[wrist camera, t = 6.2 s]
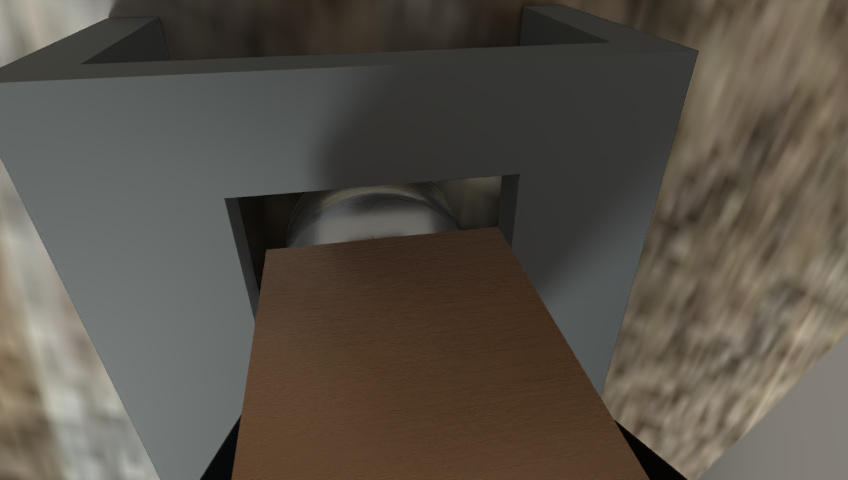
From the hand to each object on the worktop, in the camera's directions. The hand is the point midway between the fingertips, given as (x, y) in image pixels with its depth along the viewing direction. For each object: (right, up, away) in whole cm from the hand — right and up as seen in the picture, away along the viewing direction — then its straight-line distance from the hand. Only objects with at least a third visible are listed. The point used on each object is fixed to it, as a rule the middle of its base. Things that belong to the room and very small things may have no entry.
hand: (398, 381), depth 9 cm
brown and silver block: (-1, +3, +4) cm, 5 cm away
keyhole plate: (-1, +2, +8) cm, 9 cm away
